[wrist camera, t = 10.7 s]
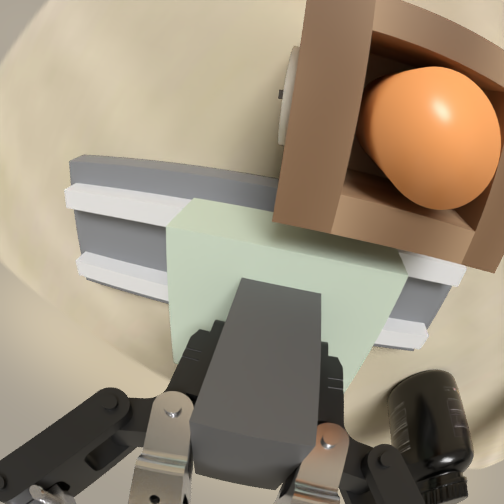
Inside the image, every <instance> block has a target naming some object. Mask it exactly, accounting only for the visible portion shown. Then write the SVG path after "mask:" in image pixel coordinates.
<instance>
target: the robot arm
mask: <svg viewBox="0 0 504 504" xmlns="http://www.w3.org/2000/svg"><path fill="white" fill-rule="evenodd" d="M224 324H225V321H220V320H215V321H214V323H213V326H212V328H211V331H206V330H202V329H199V330H198V331H197V332H196V333H194V334H193V335H192V336H191V337H190V339H189V341H188V344H187V346H186V349H185V350H184V352H183V354H182V357H181V359H180V361H179V363H178V365H177V368H176V370H175V372H174V374H173V376H172V379H171V381H170V383H169V385H168V387H167V389H166V390H165V391H164V392H163V393H162V394H161V395H159V396H157V397H154V398H146V399H143V398H128V397H127V395H126V394H125V393H124V392H123V391H121V390H119V389H117V388H104V389H102V390H100V391H98V392H97V393H95V394H94V395H93V396H91V397H90V398H88V399H87V400H86V401H84V402H83V403H82V404H80V405H79V406H78V407H76V408H75V409H73V410H72V411H70V412H69V413H68V414H66V415H65V416H63V417H62V418H61V419H59V420H58V421H56V422H55V423H54V424H52V425H51V426H49V427H48V428H46V429H45V430H44V431H42V432H41V433H39V434H38V435H36V436H35V437H34V438H32V439H31V440H29V441H28V442H26V443H25V444H24V445H22V446H21V447H19V448H18V449H16V450H15V451H13V452H12V453H10V454H9V455H8V456H6V457H5V458H3V459H2V460H0V501H1V502H3V503H5V504H76V502H75V499H74V498H73V497H75V496H76V495H77V494H79V493H80V492H81V491H83V490H84V489H85V488H87V487H88V486H89V485H91V484H92V483H93V482H94V481H96V480H97V479H98V478H100V477H101V476H102V475H103V474H104V473H106V472H107V471H109V470H110V469H111V468H112V467H113V466H115V465H116V464H117V463H118V462H120V461H121V460H122V459H123V458H124V457H126V456H127V455H128V454H129V453H131V452H132V451H133V450H134V449H135V448H136V447H143V451H142V454H141V455H140V456H139V457H138V459H137V461H136V464H135V469H134V474H133V479H132V484H131V489H130V495H129V501H128V504H190V500H191V479H192V470H193V460H194V459H193V451H192V443H191V434H190V425H189V420H190V417H191V414H192V412H193V409H194V406H195V403H196V401H197V398H198V395H199V392H200V390H201V387H202V384H203V381H204V379H205V376H206V373H207V371H208V368H209V365H210V362H211V360H212V357H213V354H214V351H215V349H216V346H217V343H218V341H219V338H220V335H221V332H222V330H223V327H224ZM338 488H339V489H340V492H341V494H342V497H343V499H344V501H345V504H425V502H424V499H423V497H422V495H421V493H420V491H419V489H418V487H417V485H416V483H415V481H414V479H413V477H412V475H411V473H410V471H409V469H408V467H407V465H406V463H405V461H404V459H403V457H402V455H401V453H400V452H399V451H398V449H396V448H395V447H394V446H392V445H388V444H381V445H378V446H376V447H374V448H373V447H370V446H367V445H365V444H362V443H359V442H357V441H355V440H354V439H352V438H351V437H350V436H349V435H348V433H347V432H346V430H345V427H344V391H343V367H342V365H341V363H340V361H339V359H338V357H333V356H328V342H323V341H321V362H320V388H319V407H318V422H317V436H316V446H315V448H314V449H313V450H312V451H311V452H310V453H309V454H308V456H307V457H306V458H305V459H304V460H303V461H302V462H301V463H300V465H299V466H298V467H297V468H296V469H295V470H294V471H293V472H292V473H291V474H290V475H289V476H288V477H287V479H286V480H285V481H284V482H283V484H282V487H281V489H280V491H279V494H278V496H277V498H276V500H275V502H274V504H340V497H339V496H338V493H337V491H338Z"/></svg>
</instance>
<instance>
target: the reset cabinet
mask: <svg viewBox="0 0 504 504" xmlns="http://www.w3.org/2000/svg"><path fill="white" fill-rule="evenodd" d="M424 67H444V68H448V69H452V70H454V71H457V72H459V73H461V74H463V75H465V76H466V77H468V78H469V79H470V80H472V81H473V82H474V83H475V84H476V85H477V86H478V87H479V88H480V89H481V90H482V91H483V92H484V94H485V95H486V96H487V98H488V99H489V101H490V103H491V104H492V107H493V109H494V111H495V113H496V116H497V119H498V123H499V127H500V135H501V150H500V157H499V162H498V165H497V168H496V171H495V173H494V176H493V178H492V179H491V181H490V183H489V184H488V186H487V187H486V188H485V189H484V191H483V192H482V193H481V194H480V195H479V196H478V197H476V198H475V199H474V200H472V201H471V202H469V203H467V204H465V205H463V206H460V207H458V208H454V209H449V210H436V209H430V208H426V207H423V206H420V205H418V204H416V203H414V202H413V201H411V200H409V199H408V198H407V197H405V196H404V195H403V194H402V193H401V192H400V191H399V190H398V189H397V188H396V187H395V185H394V184H393V183H392V182H391V181H390V179H389V178H388V177H387V176H386V175H385V174H384V172H383V171H382V170H381V169H380V168H379V167H378V165H377V164H376V163H375V162H374V161H373V160H372V159H371V158H370V156H369V155H368V154H367V153H366V152H365V151H364V149H363V148H362V146H361V144H360V143H359V141H358V138H357V136H356V132H355V130H356V125H357V120H358V115H359V110H360V104H361V99H362V93H363V89H364V88H365V87H366V86H367V85H368V84H369V83H370V82H372V81H373V80H375V79H376V78H378V77H381V76H384V75H388V74H392V73H397V72H402V71H407V70H413V69H418V68H424ZM278 99H282V105H281V113H280V122H279V133H278V144H279V145H284V152H283V159H282V165H281V171H280V177H279V183H278V189H277V194H276V200H275V206H274V212H273V218H272V222H276V223H281V224H286V225H291V226H296V227H301V228H306V229H310V230H315V231H320V232H325V233H329V234H334V235H339V236H343V237H348V238H352V239H357V240H361V241H366V242H370V243H375V244H379V245H383V246H388V247H392V248H396V249H400V250H405V251H409V252H413V253H417V254H421V255H425V256H429V257H433V258H437V259H441V260H445V261H449V262H453V263H457V264H461V265H465V266H469V267H472V268H476V269H480V270H484V271H487V272H491V273H495V271H496V269H497V267H498V265H499V263H500V261H501V259H502V257H503V255H504V50H503V49H502V48H500V47H498V46H497V45H495V44H494V43H492V42H490V41H489V40H487V39H485V38H483V37H482V36H480V35H478V34H476V33H474V32H472V31H471V30H469V29H467V28H465V27H463V26H461V25H459V24H457V23H455V22H453V21H451V20H448V19H446V18H444V17H442V16H440V15H437V14H435V13H433V12H430V11H428V10H425V9H423V8H420V7H418V6H415V5H413V4H410V3H407V2H404V1H401V0H307V2H306V9H305V16H304V23H303V30H302V37H301V44H300V47H297V46H293V49H292V52H291V55H290V59H289V64H288V69H287V74H286V79H285V85H284V90H279V96H278Z"/></svg>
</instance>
